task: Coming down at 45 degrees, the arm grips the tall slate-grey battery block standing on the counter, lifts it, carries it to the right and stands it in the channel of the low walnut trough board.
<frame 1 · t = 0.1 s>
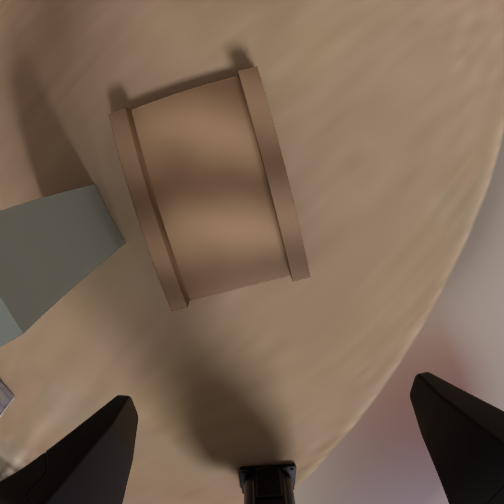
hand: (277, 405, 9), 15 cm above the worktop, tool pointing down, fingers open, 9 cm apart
walnut trough: (211, 190, 21), on the worktop
battery block: (85, 229, 22), on the worktop
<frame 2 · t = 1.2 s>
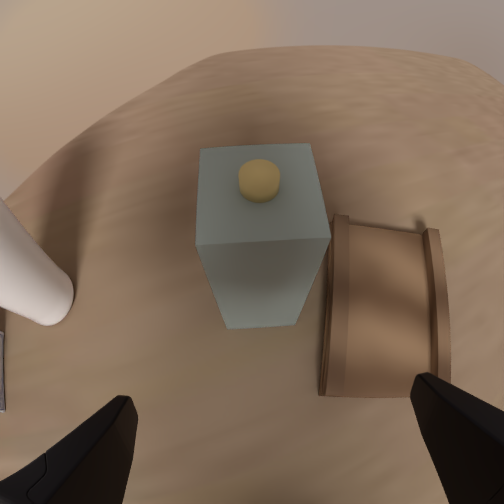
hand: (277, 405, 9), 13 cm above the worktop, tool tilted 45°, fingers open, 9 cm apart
white cylinder: (54, 299, 24), on the worktop
walnut trough: (386, 309, 23), on the worktop
battery block: (259, 295, 24), on the worktop
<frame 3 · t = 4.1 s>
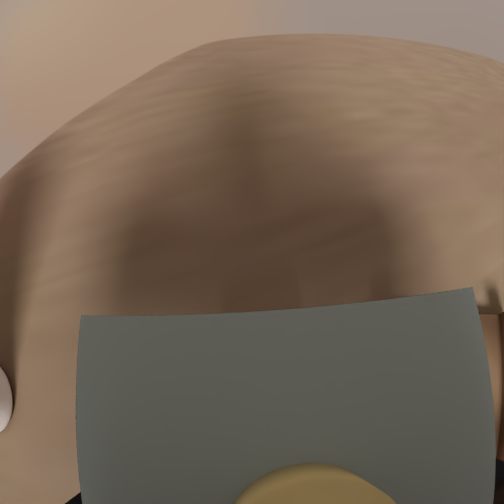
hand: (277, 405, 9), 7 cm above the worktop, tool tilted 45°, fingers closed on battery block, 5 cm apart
walnut trough: (448, 431, 13), on the worktop
battery block: (271, 431, 14), on the worktop, touching gripper
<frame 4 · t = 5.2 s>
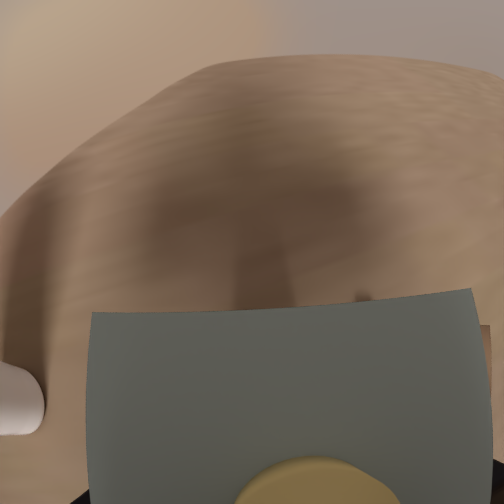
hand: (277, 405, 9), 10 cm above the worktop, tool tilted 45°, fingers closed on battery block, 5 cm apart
white cylinder: (24, 402, 17), on the worktop
walnut trough: (419, 429, 16), on the worktop
battery block: (274, 431, 14), point 4 cm above the worktop, touching gripper
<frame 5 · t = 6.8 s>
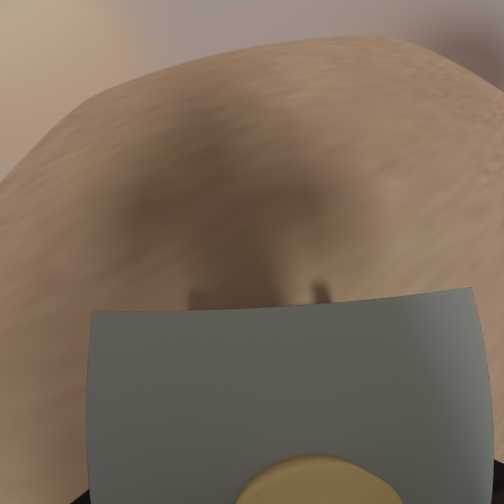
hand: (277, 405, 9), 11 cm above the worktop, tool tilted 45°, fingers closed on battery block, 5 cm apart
battery block: (273, 430, 14), point 5 cm above the worktop, touching gripper
when the fingers open (8 cm above the worktop, at t = 8.3 s): battery block stays where it is, resting on walnut trough.
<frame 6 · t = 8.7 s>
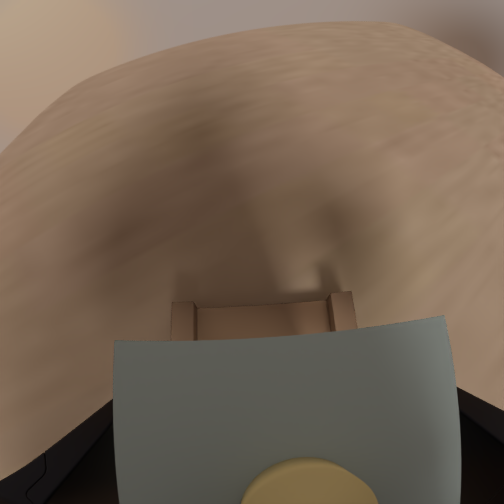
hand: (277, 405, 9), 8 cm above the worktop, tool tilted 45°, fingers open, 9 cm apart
walnut trough: (270, 427, 15), on the worktop
battery block: (269, 430, 15), point 1 cm above the worktop, touching walnut trough
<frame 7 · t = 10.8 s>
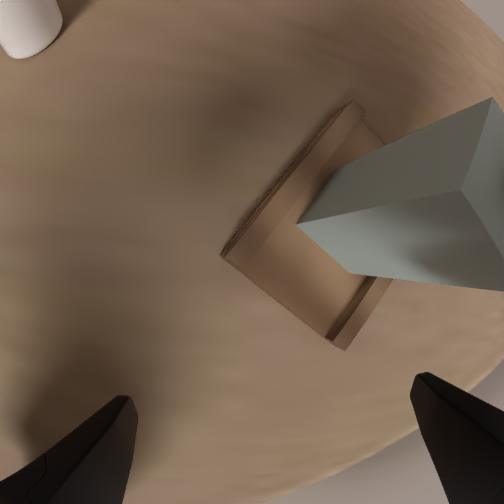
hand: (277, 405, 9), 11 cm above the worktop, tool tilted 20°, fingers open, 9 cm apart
white cylinder: (36, 37, 16), on the worktop
walnut trough: (340, 221, 21), on the worktop
battery block: (344, 220, 21), point 1 cm above the worktop, touching walnut trough
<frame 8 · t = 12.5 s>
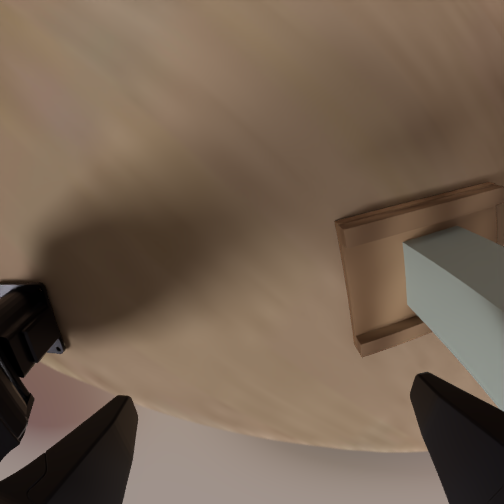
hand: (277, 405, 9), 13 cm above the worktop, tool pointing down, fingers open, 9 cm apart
walnut trough: (429, 262, 21), on the worktop
battery block: (433, 265, 21), point 1 cm above the worktop, touching walnut trough
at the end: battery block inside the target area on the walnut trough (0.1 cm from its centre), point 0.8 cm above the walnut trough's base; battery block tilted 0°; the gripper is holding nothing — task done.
